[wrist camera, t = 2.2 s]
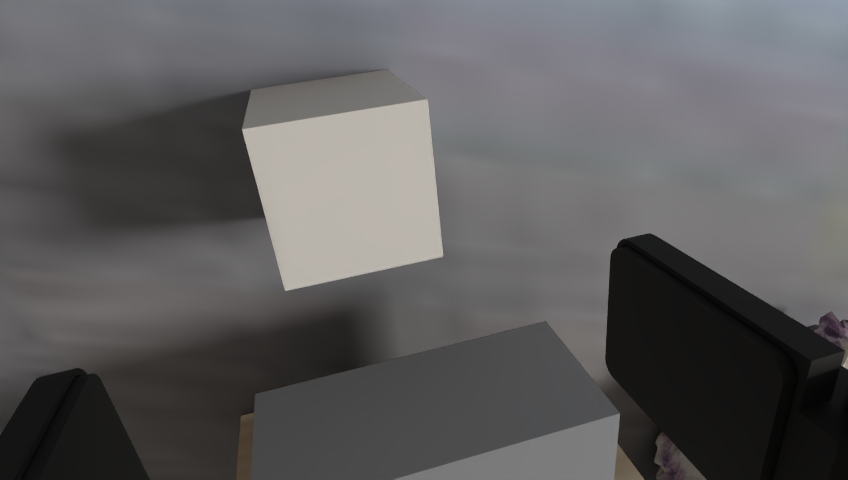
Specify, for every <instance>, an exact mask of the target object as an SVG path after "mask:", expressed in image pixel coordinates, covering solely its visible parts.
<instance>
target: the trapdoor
mask: <svg viewBox="0 0 848 480" xmlns="http://www.w3.org/2000/svg"><path fill="white" fill-rule="evenodd" d="M619 421H620V413H619V411H618V410H617V409H616V408H615V406H614V405H613V404H612V403H611V401H610V400H609V399H608V398H607V396H606V395H605V394H604V393H603V391H602V390H601V389H600V388H599V386H598V385H597V384H596V383H595V382H594V380H593V379H592V378H591V377H590V375H589V374H588V373H587V372H586V370H585V369H584V368H583V367H582V365H581V364H580V363H579V362H578V360H577V359H576V358H575V357H574V355H573V354H572V353H571V352H570V350H569V349H568V348H567V347H566V346H565V344H564V343H563V342H562V341H561V339H560V338H559V337H558V336H557V334H556V333H555V332H554V331H553V329H552V328H551V327H550V326H549V324H548V323H547V322H546V321H544V322H540V323H536V324H532V325H528V326H524V327H520V328H516V329H512V330H508V331H504V332H500V333H496V334H492V335H488V336H484V337H480V338H476V339H472V340H468V341H464V342H460V343H456V344H452V345H448V346H444V347H440V348H436V349H432V350H428V351H425V352H421V353H417V354H413V355H409V356H405V357H401V358H397V359H393V360H389V361H385V362H381V363H377V364H373V365H369V366H365V367H361V368H357V369H353V370H349V371H345V372H341V373H337V374H333V375H329V376H325V377H321V378H317V379H313V380H309V381H305V382H301V383H297V384H293V385H289V386H285V387H281V388H277V389H273V390H269V391H265V392H261V393H257V394H255V404H254V425H253V445H252V466H251V480H614V475H615V464H616V453H617V443H618V432H619Z"/></svg>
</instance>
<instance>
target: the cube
mask: <svg viewBox="0 0 848 480" xmlns="http://www.w3.org/2000/svg"><path fill="white" fill-rule="evenodd" d="M242 131H243V135H244V139H245V143H246V146H247V150H248V154H249V158H250V161H251V165H252V169H253V172H254V176H255V180H256V184H257V187H258V191H259V195H260V199H261V202H262V206H263V210H264V214H265V217H266V221H267V225H268V229H269V232H270V236H271V240H272V243H273V247H274V251H275V255H276V258H277V262H278V266H279V270H280V273H281V277H282V281H283V285H284V288H285V291H288V290H292V289H297V288H302V287H306V286H311V285H315V284H320V283H325V282H329V281H334V280H338V279H343V278H348V277H352V276H357V275H361V274H366V273H371V272H375V271H380V270H384V269H389V268H393V267H398V266H403V265H407V264H412V263H416V262H421V261H426V260H430V259H435V258H439V257H443V249H442V239H441V229H440V219H439V209H438V199H437V189H436V179H435V169H434V159H433V149H432V139H431V129H430V119H429V109H428V99H427V98H425V97H424V96H423V95H421V94H420V93H419V92H417V91H416V90H415V89H413V88H412V87H411V86H409V85H408V84H407V83H405V82H404V81H402V80H401V79H400V78H398V77H397V76H396V75H394V74H393V73H392V72H390V71H389V70H388V69H386V70H379V71H373V72H366V73H359V74H353V75H346V76H339V77H333V78H326V79H319V80H313V81H306V82H299V83H293V84H286V85H279V86H273V87H266V88H259V89H253V90H251V93H250V97H249V102H248V106H247V110H246V114H245V119H244V123H243V127H242Z"/></svg>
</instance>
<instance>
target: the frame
mask: <svg viewBox="0 0 848 480" xmlns="http://www.w3.org/2000/svg"><path fill="white" fill-rule="evenodd" d="M253 425H254V413H250V414H246V415H242V416H241V421H240V433H239V446H238V459H237V471H236V480H251V466H252V445H253ZM614 480H644V478H643V477H642V476H641V474H640V473H639V472H638V470H637V469H636V468H635V466H634V465H633V464H632V462H631V461H630V460H629V458H628V457H627V456H626V454H625V453H624V452H623V450H622V449H621V447H620V446H619V445H618V443H617V453H616V464H615V475H614Z"/></svg>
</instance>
